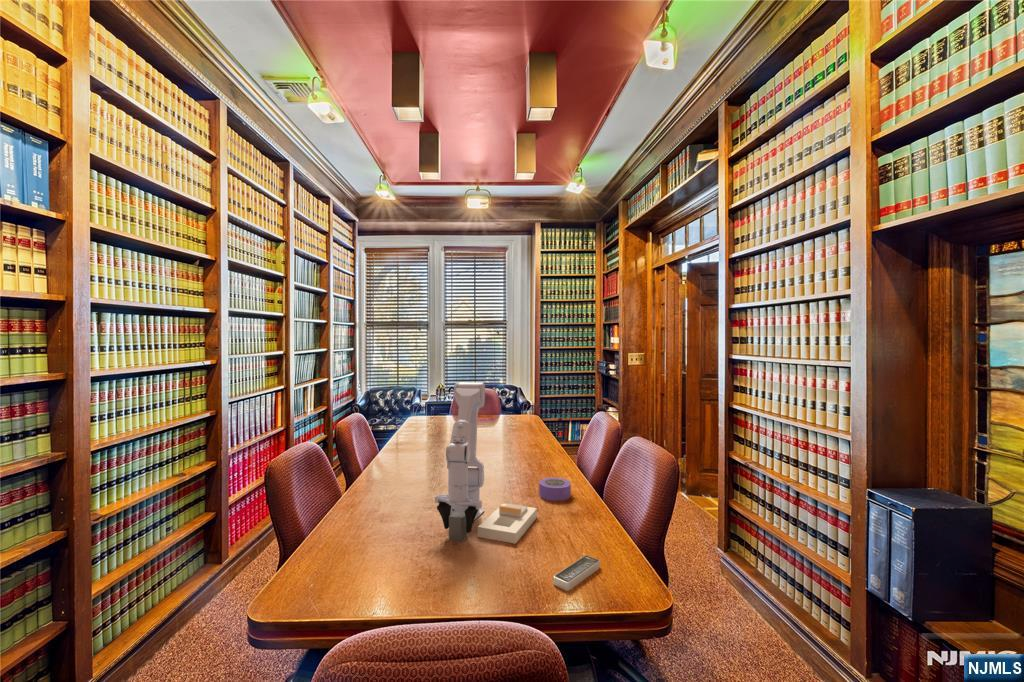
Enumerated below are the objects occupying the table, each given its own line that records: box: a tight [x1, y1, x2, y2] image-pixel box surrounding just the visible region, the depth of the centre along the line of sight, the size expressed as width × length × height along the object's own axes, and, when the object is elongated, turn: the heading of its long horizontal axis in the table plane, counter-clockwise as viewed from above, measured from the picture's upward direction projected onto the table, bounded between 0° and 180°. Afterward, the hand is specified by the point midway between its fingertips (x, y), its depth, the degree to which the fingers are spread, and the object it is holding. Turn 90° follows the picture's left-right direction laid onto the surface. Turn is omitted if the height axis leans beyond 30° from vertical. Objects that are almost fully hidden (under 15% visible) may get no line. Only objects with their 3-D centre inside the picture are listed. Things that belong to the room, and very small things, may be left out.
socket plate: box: [477, 503, 538, 544], centre depth 141 cm, size 12×20×3 cm, turn 159°
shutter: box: [498, 503, 528, 518], centre depth 144 cm, size 7×7×3 cm
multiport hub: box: [553, 555, 601, 592], centre depth 112 cm, size 4×14×2 cm, turn 138°
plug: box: [448, 512, 468, 544], centre depth 132 cm, size 4×4×7 cm
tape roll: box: [538, 477, 572, 502], centre depth 168 cm, size 12×12×5 cm
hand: (458, 529), depth 132 cm, fingers open, 7 cm apart
